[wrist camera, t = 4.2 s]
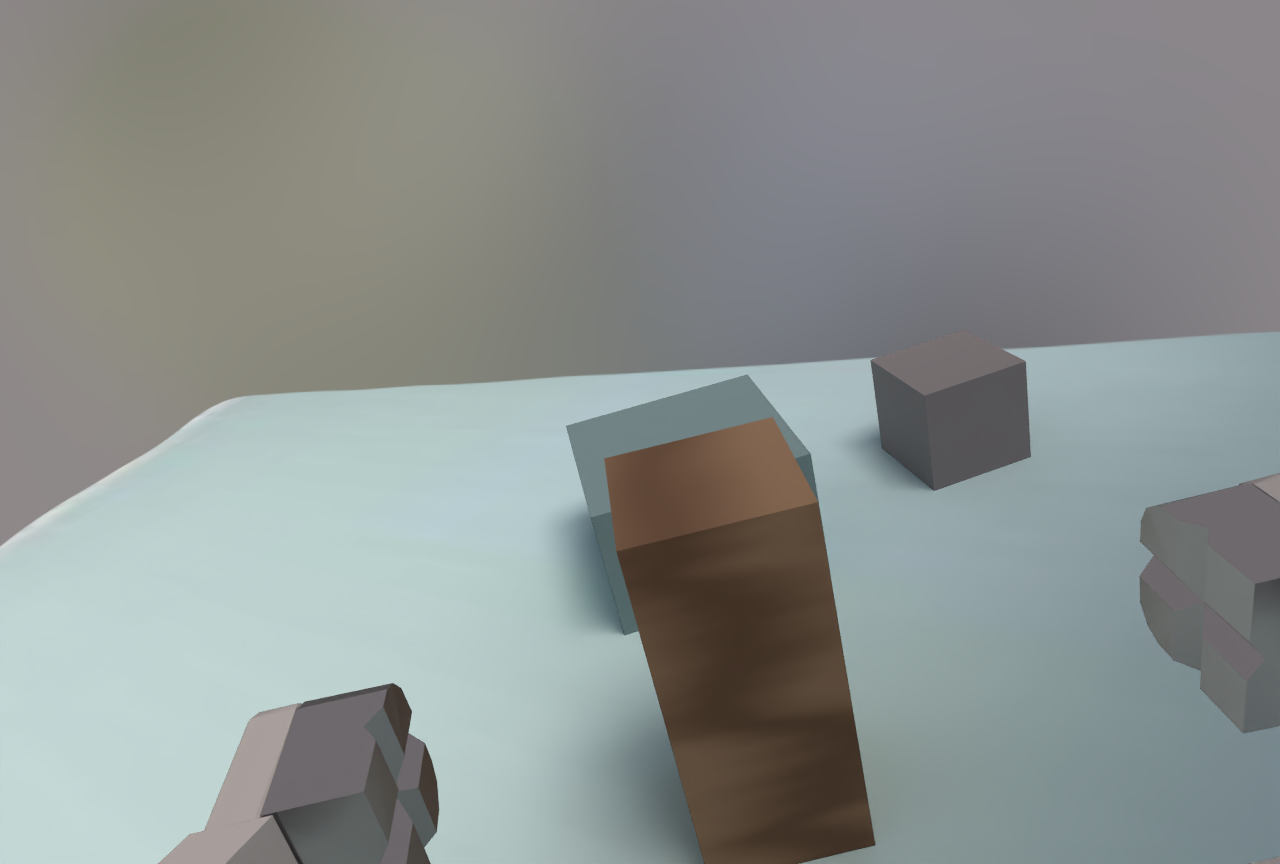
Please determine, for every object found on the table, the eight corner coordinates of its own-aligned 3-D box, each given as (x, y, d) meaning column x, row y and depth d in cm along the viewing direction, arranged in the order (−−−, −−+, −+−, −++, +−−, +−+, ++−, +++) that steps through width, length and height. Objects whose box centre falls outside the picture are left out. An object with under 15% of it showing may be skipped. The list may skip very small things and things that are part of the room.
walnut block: (829, 726, 33) (772, 417, 28) (875, 844, 28) (817, 501, 23) (687, 760, 33) (604, 458, 28) (710, 884, 28) (616, 551, 23)
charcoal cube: (970, 418, 49) (963, 329, 47) (1030, 458, 45) (1025, 361, 43) (882, 449, 48) (870, 360, 46) (934, 492, 44) (924, 395, 42)
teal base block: (767, 481, 48) (747, 374, 46) (831, 576, 40) (810, 453, 38) (596, 531, 48) (565, 426, 45) (625, 638, 40) (590, 517, 37)
